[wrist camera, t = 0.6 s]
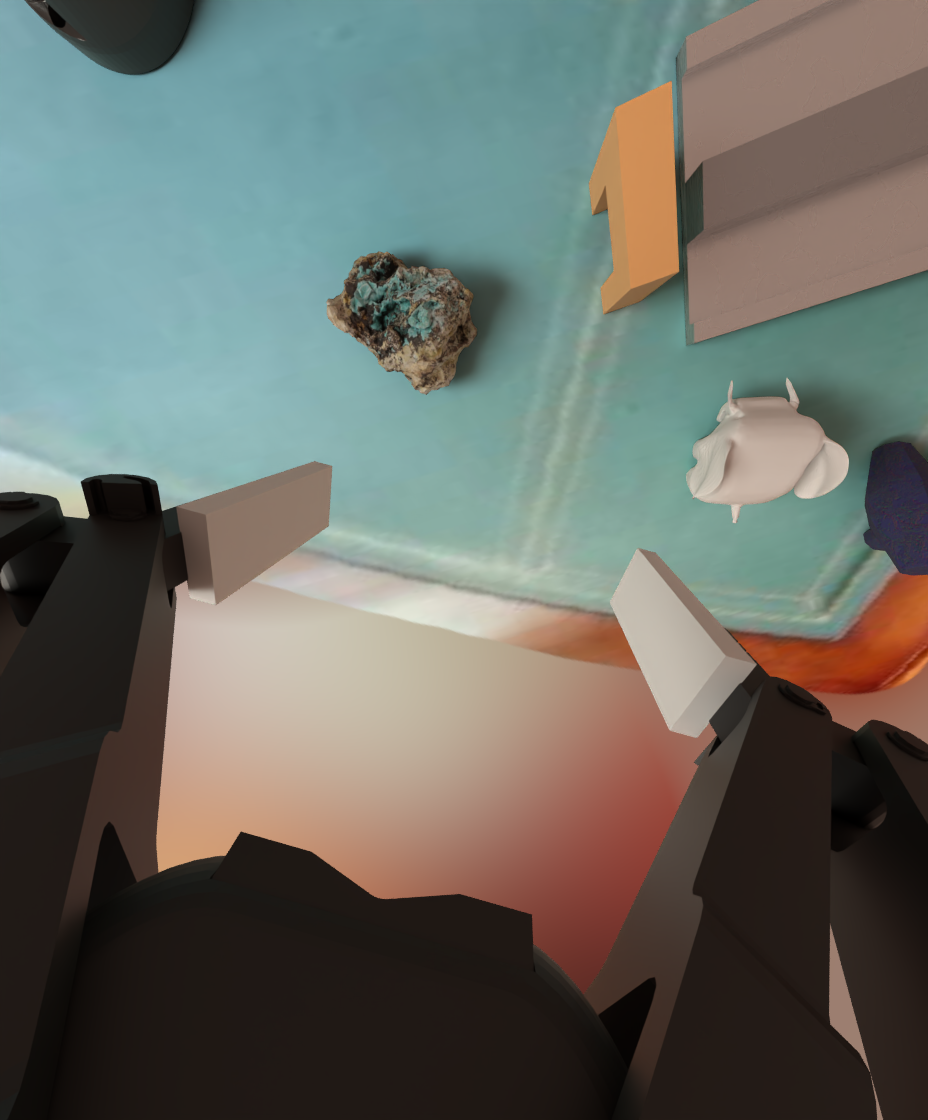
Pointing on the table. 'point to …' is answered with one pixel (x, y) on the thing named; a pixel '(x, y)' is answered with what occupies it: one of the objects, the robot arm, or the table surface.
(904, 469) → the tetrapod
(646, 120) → the clip
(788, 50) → the rail
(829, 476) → the elephant figurine
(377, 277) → the mineral specimen
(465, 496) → the table surface
